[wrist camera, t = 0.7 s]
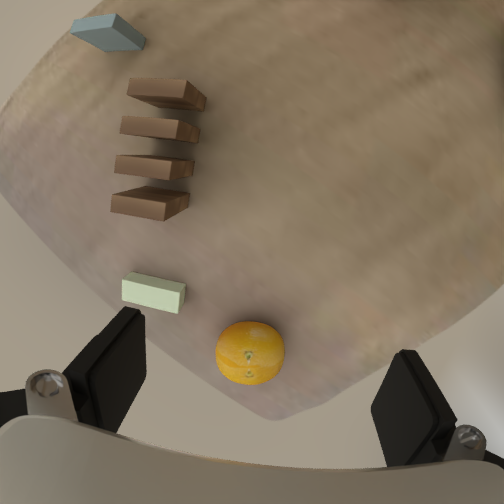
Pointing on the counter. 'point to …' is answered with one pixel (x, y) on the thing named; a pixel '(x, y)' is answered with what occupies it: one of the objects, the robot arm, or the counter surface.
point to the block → (153, 292)
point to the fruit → (250, 352)
